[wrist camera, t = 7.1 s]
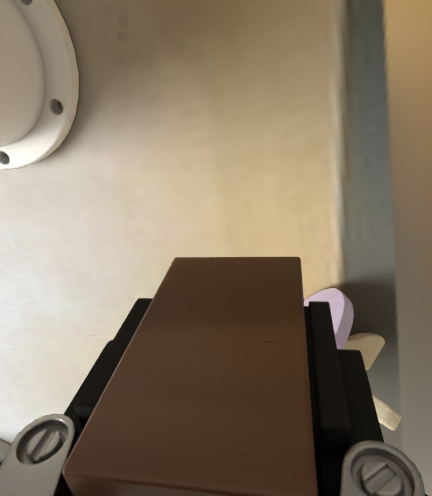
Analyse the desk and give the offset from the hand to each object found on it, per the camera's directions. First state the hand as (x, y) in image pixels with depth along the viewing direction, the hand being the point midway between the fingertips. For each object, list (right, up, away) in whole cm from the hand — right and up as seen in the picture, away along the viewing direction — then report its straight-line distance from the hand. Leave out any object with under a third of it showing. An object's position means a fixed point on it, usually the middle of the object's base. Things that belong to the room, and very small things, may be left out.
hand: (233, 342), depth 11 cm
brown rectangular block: (0, +1, +2) cm, 2 cm away
